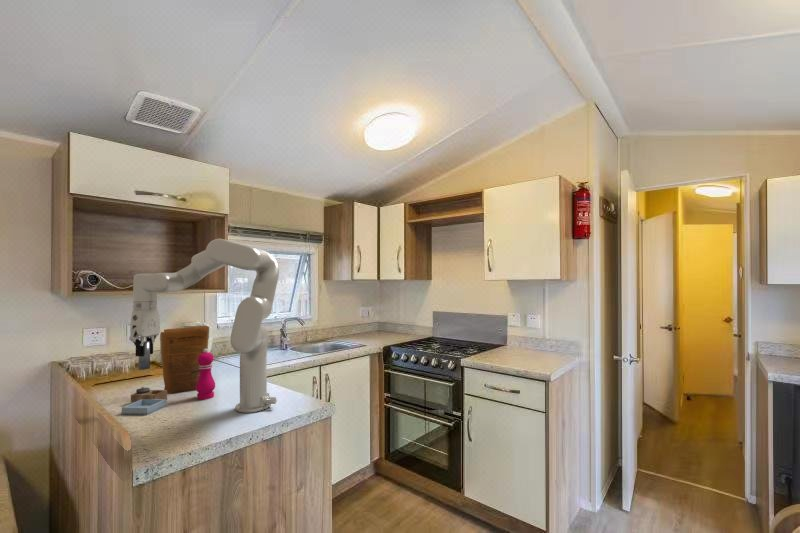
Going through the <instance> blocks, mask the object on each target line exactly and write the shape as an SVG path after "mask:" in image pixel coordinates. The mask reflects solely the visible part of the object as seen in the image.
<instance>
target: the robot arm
mask: <svg viewBox="0 0 800 533" xmlns="http://www.w3.org/2000/svg"><path fill="white" fill-rule="evenodd" d="M190 262H191V263H190V264H188V265H187V266H185V267H184V268H182V269H180V270H178V271H176V272H157V273H136V274H134V275H133V282H132V285H133V287H132V289H133V290H132V292H133V294H132V296H133V297H132V301H133V302H132V313H131V316H130V317H131V318H130V325H129V331H130V332H129V333H130V336H129V338H128V339H129V341H131V342H132V343H133V346H134V347H135V357H139V356H144V355H145V345H143V344H144V341H150V355H153V354H154V343H155V340H156V338H157V337H158V336H160V333H161V321H160V320H161V319H160V313H159V309H158V293H159V294H167V293H168V294H169V293H177V292H180V291H183V290H185V289H187V288H190V287H191V286H193V285H195V284H197V283H198V282H199V281H201V280H202V279H204V278H205V277H206V276H208V275H209V274H211V273H213V272H215V271H217V270H219V269H221V268H223V267H225V266H230V267H234V268H236V269H240V270H243V271H244V270H245V271H252V272H253V271H254V272H255V273H256V275H255V278H254V280H253V284H252V288H251V292H250V295H249V296H248V297H245V298H244V299H242V300H241V301H240V303H239V304H238V306H237V309H236V312H235V317H234V320H233V324H232V327H231V328H232V329H231V332H230V333H231V334H230V344H231V348H232V349H233V350H234V351H235V352H238V353H240V355H239V403H237V404H236V405H235V408H234V410H235V411H236V412H239V413H246V414H247V413H256V412H257V411H258V412H261V410H262V411H265V410H267V409H268V407H269V408H270V407H271V406H272V405H276V404H277V396H275V397H274V396H273V397H271V396H270V392H268V391H267V390H268V389H267V385H268V383H267V381H268V380H267V374H268V373H267V371H268V370H267V369H268V368H267V366H268V365H267V363H268V362H267V360H268V359H267V356H268V355H267V354H268V344H269V334H268V333H269V332H268V330H267V328H266V327H265V326H264V325H263V324H262V323H263V321H264V320H266V319H267V318H268V317H270V315H271V313H272V309H273V305H274V300H275V295H276V291H277V285H278V282H279V275H280V268H279V263H278V262H277V260H276V258H275V257H274V256H273V255H272V254H271V253H270V252H268V251H266V250H265V249H262V248H256V247H252V246H247V245H243V244H240V243H235V242H234V241H232V240H229V239H223V238H215V239H213V240H211V241H209V242H208V244H207V246H206V248H205V250H202V251H200V252H199V253H197V254H194V255H193V256H192V257H191V261H190ZM266 408H267V409H266ZM264 409H265V410H264Z"/></svg>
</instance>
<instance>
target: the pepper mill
mask: <svg viewBox="0 0 800 533" xmlns="http://www.w3.org/2000/svg"><path fill="white" fill-rule="evenodd" d="M203 352H204V353H201V354H200V355H199V356H198V359H197V360H198V363H199V364H200V365H199V369H200V376H199V379H198V381H197V384H196V390H195V391H196V392H197V394H196V399H197V400H209V399H212V398H214V397H215V392H214V390H215V388H216V382H215V380H214V378H213V375H212V368H213V362H214V360H215V359H214V358H215V357H214V355H213V353H211V352H209V349H204V350H203Z"/></svg>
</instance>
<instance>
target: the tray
mask: <svg viewBox="0 0 800 533" xmlns="http://www.w3.org/2000/svg"><path fill="white" fill-rule="evenodd" d="M167 401H168V398H167V399H141V400H139V401H136V402H134V403H131V402H130V404H127V405H124V406H122V407H121V415H125V416H126V415H127V414H128V415H132V414H133V415H132V416H135V415H136V416H139V415H140V416H147V415H150V414H153V413H155V412H157V411H159V410H161V409H164V408H165V407H167ZM128 415H127V416H128Z"/></svg>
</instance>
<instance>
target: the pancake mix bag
mask: <svg viewBox="0 0 800 533" xmlns="http://www.w3.org/2000/svg"><path fill="white" fill-rule="evenodd" d="M209 338H210V326H208V325H197V326H195V325H194V326H185V327H179V328H167V329H163V331H160V333H159V340H160V341H159V342H160V343H159V345H160V349H159V350H160V352H159V353H160V357H161V358H160V360H161V369H162V378H163V383H164V384H163V385H164V387H163V388H164V389H163V390H167V394H176V393H184V392H191V391H196V384H197V381H198V379H199V376H200V369H199V365H200V364H199V363H198V360H197V359H198V356H199V355H200V354H201V353H204V352H203V350H204V349H208V347H209ZM208 350H209V349H208Z"/></svg>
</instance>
